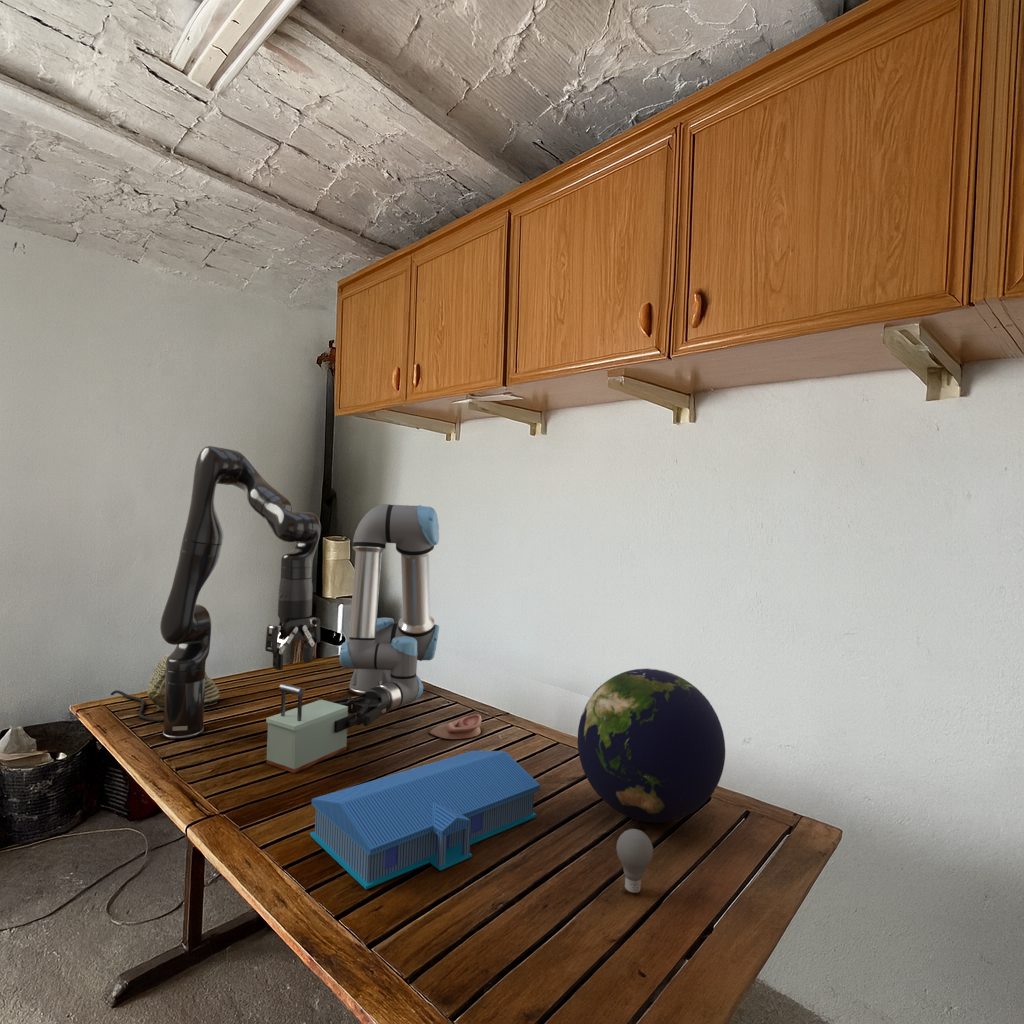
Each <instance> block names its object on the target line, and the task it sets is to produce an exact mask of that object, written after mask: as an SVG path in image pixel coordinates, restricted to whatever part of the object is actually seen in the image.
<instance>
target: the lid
mask: <svg viewBox="0 0 1024 1024" xmlns="http://www.w3.org/2000/svg"><path fill="white" fill-rule="evenodd" d="M278 690H279V691H280V692H281V698H280V700H281V701H280V713H278V714H274V715H271V716H269V717H266V721H265V722H266V723H267V724H268V723H270V724H274V725H277V726H280V727H284V728H287V729H290V730H293V731H295V730H298V729H300V728H303V727H306V726H308V725H311V724H314V723H316V722H319V721H321V720H324V719H327V718H329V717H332V716H335V715H337V714H340V713H342V712H345V711H348V706H344V705H340V704H337V703H333V702H329V701H330V700H329V701H328V700H325V699H318V700H316V701H312V702H309V703H306V704H303V696H304V695H305V693H306V689H305V688H304V687H300V686H297V685H293V684H288V683H285V682H283V683H281V684H280V685H279V687H278ZM287 694H290V695H293V696H296V697H297V707H295V708H292V709H289V710H286V700H287V699H286V697H287V696H286V695H287Z"/></svg>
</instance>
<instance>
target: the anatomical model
mask: <svg viewBox="0 0 1024 1024" xmlns="http://www.w3.org/2000/svg"><path fill="white" fill-rule="evenodd" d="M481 724H482V716H481V714H477V713H476V714H471V715H467V716H463V717H461V718H458V719H455V720H452V721H450V722H446V723H441V724H439V725H437V726H435V727H434V728H432V729H431V730H430V731H429V733H430V735H432V736H435V737H438V738H442V739H446V740H463V739H469V738H474V737H477V736H479V735H480V734H481V727H480V726H481Z"/></svg>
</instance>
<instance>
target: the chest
mask: <svg viewBox="0 0 1024 1024" xmlns="http://www.w3.org/2000/svg"><path fill="white" fill-rule="evenodd" d="M347 716H349V713H348V711H345V712H342V713H340V714H337V715H335V716H332V717H329V718H327V719H324V720H321V721H319V722H316V723H314V724H311V725H308V726H306V727H303V728H300V729H298V730H295V731H293V730H290V729H287V728H284V727H280V726H277V725H274V724H270V723H267V735H266V737H267V738H266V740H267V741H266V760H265V761H266V764H267V765H270V766H273V767H276V768H279V769H281V770H283V771H287V772H290V773H293V774H296V773H298V772H300V771H302V770H305V769H307V768H309V767H311V766H313V765H316V764H318V763H320V762H322V761H324V760H326V759H329V758H331V757H333V756H335V755H338V754H339V753H342V752H344V751H347V748H348V747H347V746H348V745H347V743H348V728H347V729H345V730H342V731H340V732H337V733H335V732H334V729H335V721H337V720H339V719H342V718H344V717H347Z"/></svg>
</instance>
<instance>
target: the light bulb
mask: <svg viewBox="0 0 1024 1024" xmlns="http://www.w3.org/2000/svg"><path fill="white" fill-rule="evenodd" d="M615 849H616V854H617V857H618V859H619V861H620V863H621V865H622V867H623V873H624V874H623V875H624V876H625V878H624V888H625V890H627V891H628V892H630V893H634V894H635V893H639V892H640V891H641V889H642V887H641V886H642V879H643V877H644V875H645V871H646V868H647V867H648V866H649V864H650V863H651V861H652V859H653V855H654V847H653V843H652V841H651V838H649V836H648V835H647V834H646V833H645V832H643V831H642V830H641V829H636V828H629V829H627V830H625V831H623V832H622V833H621V834H620V835H619V837H618V839H617V841H616V847H615Z"/></svg>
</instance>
